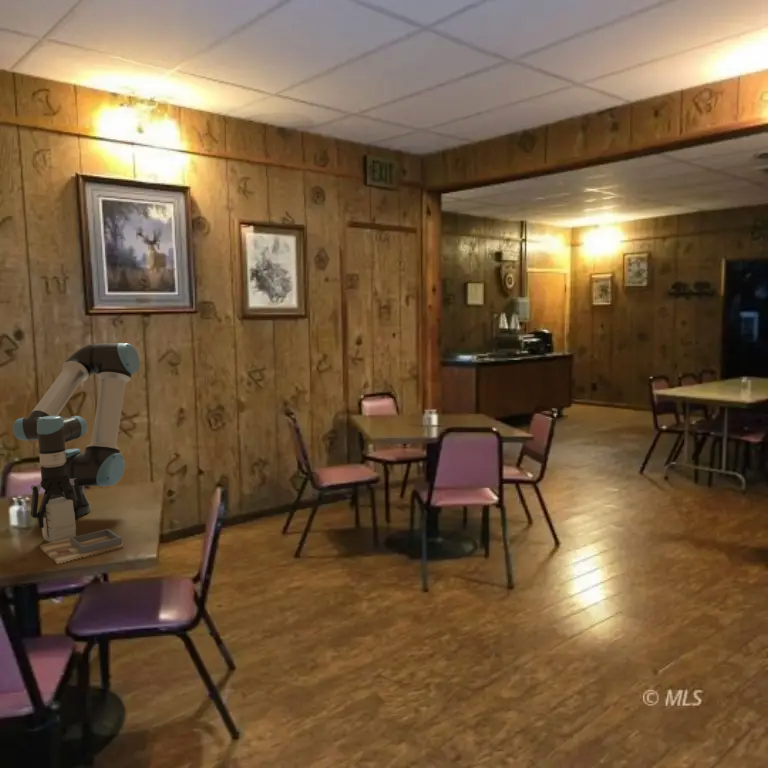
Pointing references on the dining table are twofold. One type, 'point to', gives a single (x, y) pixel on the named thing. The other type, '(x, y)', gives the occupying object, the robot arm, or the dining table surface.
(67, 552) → the board
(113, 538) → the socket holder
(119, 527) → the dining table surface
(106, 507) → the dining table surface
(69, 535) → the supplement box
